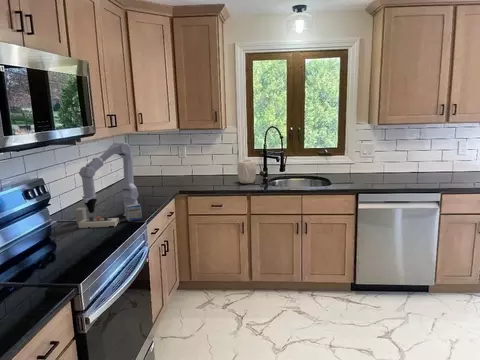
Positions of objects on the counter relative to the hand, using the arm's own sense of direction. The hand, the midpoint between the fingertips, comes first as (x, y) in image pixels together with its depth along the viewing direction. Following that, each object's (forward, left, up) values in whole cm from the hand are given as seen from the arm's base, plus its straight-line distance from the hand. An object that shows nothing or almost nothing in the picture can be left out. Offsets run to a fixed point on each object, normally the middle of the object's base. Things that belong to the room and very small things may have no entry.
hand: (91, 212), depth 207 cm
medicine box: (-9, +21, -8) cm, 24 cm away
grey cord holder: (-8, -9, -8) cm, 15 cm away
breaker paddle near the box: (0, +8, -4) cm, 9 cm away
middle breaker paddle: (0, +4, -4) cm, 6 cm away
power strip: (0, +4, -7) cm, 8 cm away
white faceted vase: (-109, +89, -8) cm, 141 cm away
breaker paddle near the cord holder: (0, 0, -4) cm, 5 cm away
